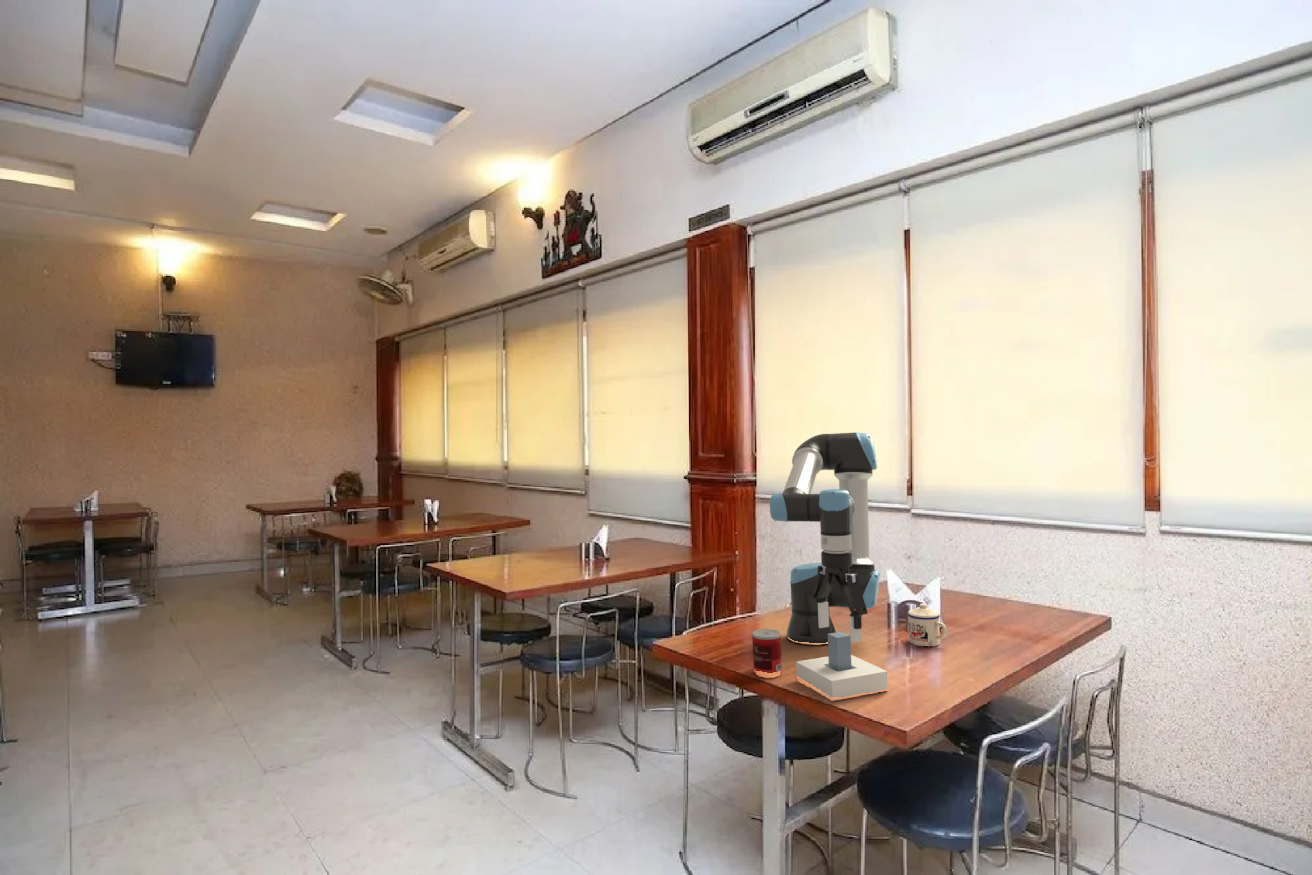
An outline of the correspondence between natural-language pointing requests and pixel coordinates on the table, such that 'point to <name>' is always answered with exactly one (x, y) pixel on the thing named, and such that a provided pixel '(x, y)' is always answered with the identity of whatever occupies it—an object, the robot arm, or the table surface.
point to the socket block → (842, 677)
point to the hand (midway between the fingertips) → (839, 634)
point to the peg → (839, 651)
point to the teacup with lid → (925, 626)
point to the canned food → (767, 650)
